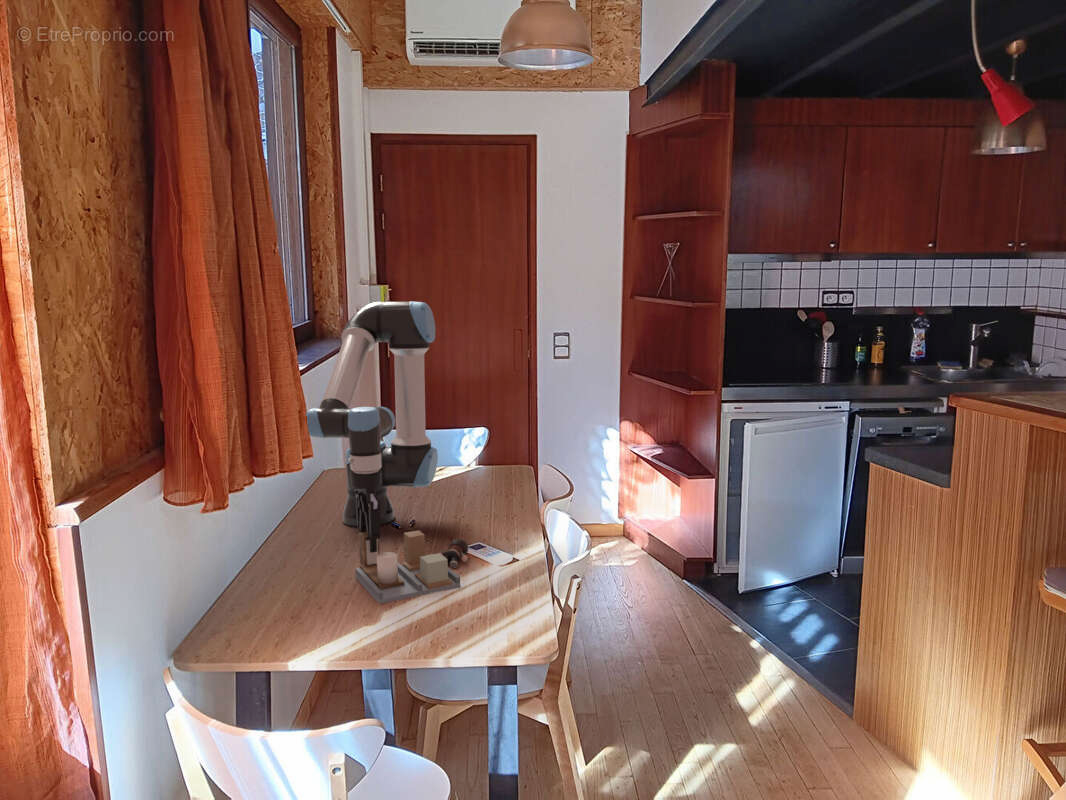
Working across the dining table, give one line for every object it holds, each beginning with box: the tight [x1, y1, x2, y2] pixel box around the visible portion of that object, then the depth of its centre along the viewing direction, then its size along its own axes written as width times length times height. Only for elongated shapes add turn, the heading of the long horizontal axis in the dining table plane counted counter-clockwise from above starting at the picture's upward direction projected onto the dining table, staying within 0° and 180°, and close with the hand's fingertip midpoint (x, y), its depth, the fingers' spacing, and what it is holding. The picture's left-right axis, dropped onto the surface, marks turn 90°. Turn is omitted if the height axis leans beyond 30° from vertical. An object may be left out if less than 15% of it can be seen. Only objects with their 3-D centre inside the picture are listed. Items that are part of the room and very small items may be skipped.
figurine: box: [439, 538, 469, 569], centre depth 216 cm, size 8×5×10 cm
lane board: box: [354, 529, 462, 605], centre depth 201 cm, size 19×20×9 cm
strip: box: [358, 532, 404, 590], centre depth 203 cm, size 19×6×8 cm, turn 28°
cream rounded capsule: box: [377, 551, 399, 584], centre depth 198 cm, size 5×5×6 cm
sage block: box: [420, 552, 449, 584], centre depth 199 cm, size 5×5×5 cm
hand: (369, 560), depth 210 cm, fingers closed on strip, 4 cm apart
